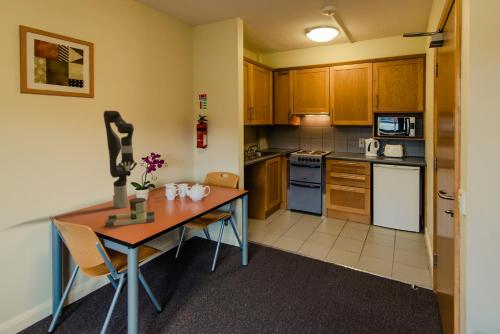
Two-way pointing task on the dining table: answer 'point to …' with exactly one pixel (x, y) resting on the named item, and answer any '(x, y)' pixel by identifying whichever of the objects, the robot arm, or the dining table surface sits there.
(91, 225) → the dining table surface
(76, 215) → the dining table surface
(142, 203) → the coffee can
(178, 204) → the dining table surface
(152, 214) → the push track
